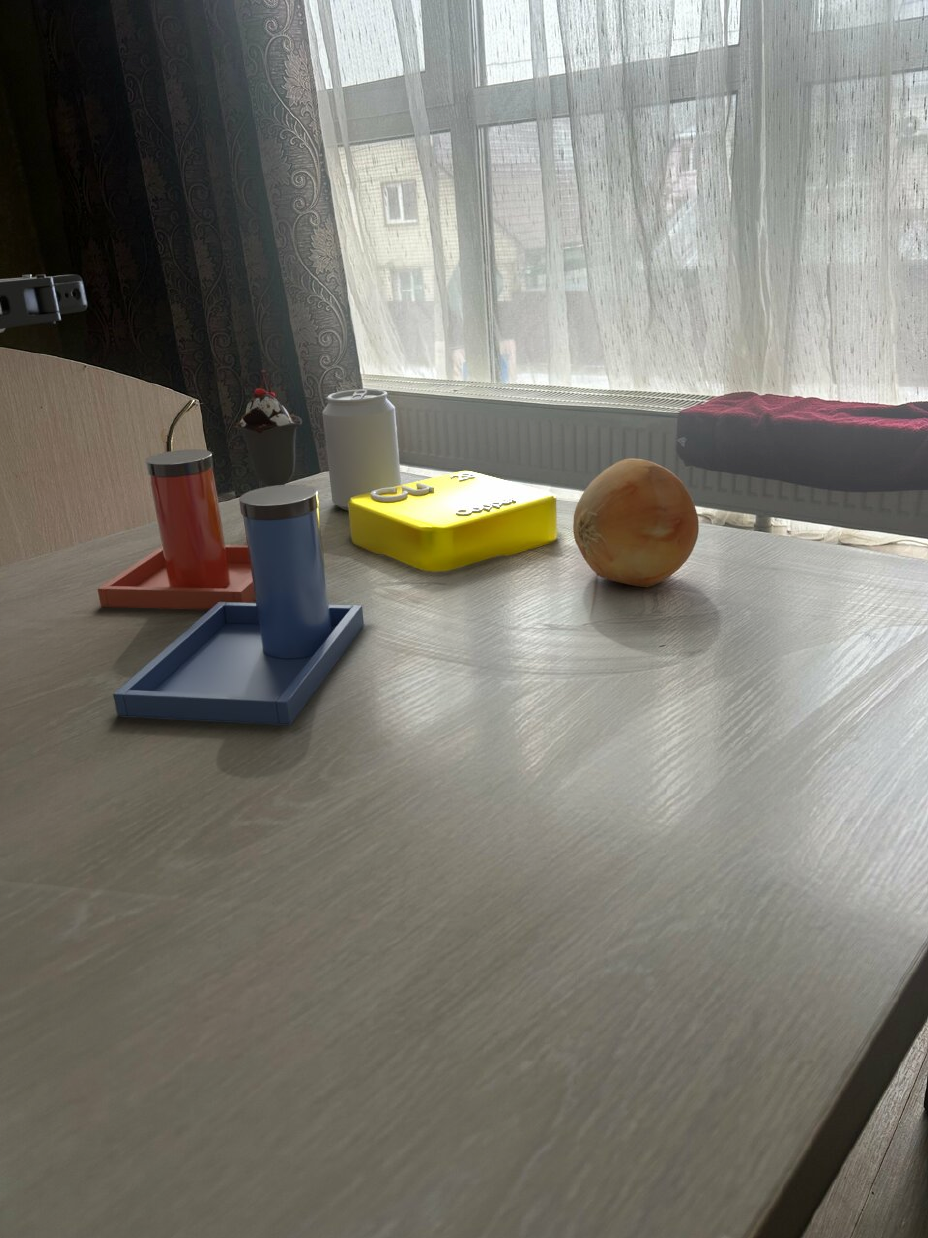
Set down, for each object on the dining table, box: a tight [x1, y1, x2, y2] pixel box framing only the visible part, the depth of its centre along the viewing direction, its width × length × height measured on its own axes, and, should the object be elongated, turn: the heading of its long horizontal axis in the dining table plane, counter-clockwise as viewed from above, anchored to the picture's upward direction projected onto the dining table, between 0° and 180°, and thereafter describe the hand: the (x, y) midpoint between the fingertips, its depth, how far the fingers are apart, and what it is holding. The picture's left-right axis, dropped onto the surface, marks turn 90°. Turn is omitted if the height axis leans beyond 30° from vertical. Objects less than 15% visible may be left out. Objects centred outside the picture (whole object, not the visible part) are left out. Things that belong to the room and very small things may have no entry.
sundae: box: [234, 369, 303, 487], centre depth 98 cm, size 7×7×15 cm
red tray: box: [97, 544, 256, 610], centre depth 82 cm, size 12×11×2 cm
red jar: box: [144, 448, 231, 589], centre depth 79 cm, size 5×5×11 cm
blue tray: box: [112, 602, 365, 726], centre depth 66 cm, size 11×15×2 cm
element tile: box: [348, 470, 558, 573], centre depth 90 cm, size 15×15×5 cm
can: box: [321, 388, 402, 512], centre depth 102 cm, size 8×8×12 cm
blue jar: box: [238, 484, 332, 659], centre depth 67 cm, size 5×5×11 cm
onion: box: [572, 457, 700, 588], centre depth 76 cm, size 10×10×10 cm
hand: (31, 293), depth 63 cm, fingers open, 8 cm apart
